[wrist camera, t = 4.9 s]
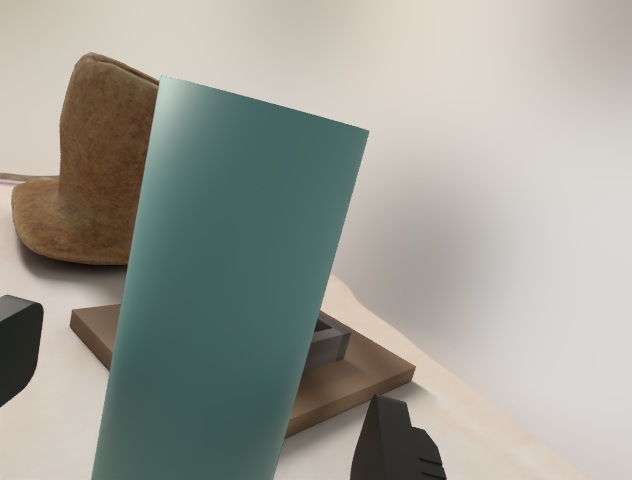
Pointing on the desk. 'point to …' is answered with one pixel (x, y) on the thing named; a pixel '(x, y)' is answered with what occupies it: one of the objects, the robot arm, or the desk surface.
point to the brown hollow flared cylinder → (92, 168)
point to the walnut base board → (318, 374)
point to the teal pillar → (222, 284)
